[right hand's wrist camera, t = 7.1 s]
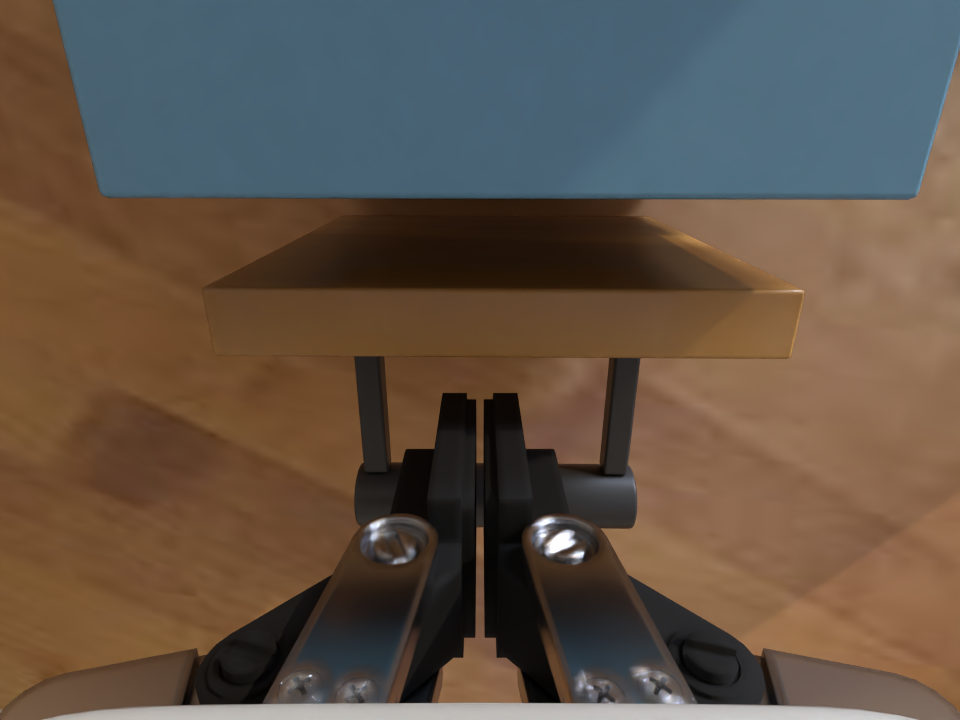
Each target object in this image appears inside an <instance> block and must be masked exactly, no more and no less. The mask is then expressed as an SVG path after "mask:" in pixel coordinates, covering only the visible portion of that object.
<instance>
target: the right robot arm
mask: <svg viewBox="0 0 960 720" xmlns="http://www.w3.org/2000/svg"><path fill="white" fill-rule="evenodd" d="M475 612H476V399H467V393H443V395H442V401H441V408H440V415H439V421H438V428H437V435H436V442H435V448H434V449H406V451H405V454H404V458H403V462H402V466H401V471H400V475H399V479H398V483H397V487H396V491H395V495H394V500H393V504H392V508H391V512H390V514H389V515H384V516H380V517H378V518H376V519H373V520H371V521H369V522H368V523H366V524H365V525H363V526H362V527H361V528H360V529H359V530H358V531H357V532H356V534H355V535H354V536H353V538H352V540H351V542H350V544H349V545H348V547H347V549H346V551H345V553H344V555H343V556H342V558H341V560H340V562H339V564H338V566H337V567H336V569H335V571H334V573H333V575H331V576H329V577H327V578H326V579H324V580H322V581H321V582H319V583H317V584H315V585H314V586H312V587H310V588H309V589H307V590H305V591H303V592H302V593H300V594H298V595H297V596H295V597H293V598H292V599H290V600H288V601H286V602H285V603H283V604H281V605H280V606H278V607H276V608H274V609H273V610H271V611H269V612H268V613H266V614H264V615H263V616H261V617H259V618H257V619H256V620H254V621H252V622H251V623H249V624H247V625H245V626H244V627H242V628H240V629H239V630H237V631H235V632H233V633H232V634H230V635H229V636H227V637H226V638H225V639H223V640H222V641H220V642H219V643H218V644H216V645H215V646H214V648H213V649H212V650H211V651H210V652H209V653H208V654H207V655H204V656H199V655H198V651H197V648H195V649H190V650H185V651H180V652H174V653H169V654H164V655H159V656H153V657H148V658H143V659H138V660H132V661H127V662H122V663H117V664H111V665H106V666H101V667H96V668H90V669H85V670H80V671H75V672H69V673H64V674H61V675H58V676H55V677H52V678H49V679H45V680H43V681H42V682H40V683H38V684H36V685H34V686H32V687H31V688H29V689H27V690H25V691H24V692H22V693H21V694H20V695H19V696H18V697H16V698H15V699H14V700H13V701H12V702H10V703H9V704H8V705H7V706H6V707H5V708H4V709H3V710H2V712H1V713H0V720H960V713H959V712H958V710H957V709H956V708H955V707H954V706H953V705H952V704H951V703H950V702H948V701H947V700H946V699H945V698H944V697H942V696H941V695H940V694H939V693H938V692H936V691H935V690H933V689H931V688H929V687H928V686H926V685H924V684H922V683H920V682H918V681H917V680H915V679H911V678H908V677H905V676H902V675H899V674H896V673H891V672H885V671H880V670H875V669H870V668H864V667H859V666H854V665H849V664H843V663H838V662H833V661H828V660H822V659H817V658H812V657H807V656H801V655H796V654H791V653H786V652H780V651H775V650H770V649H764V648H763V651H762V655H761V656H756V655H753V654H752V653H751V652H750V651H749V650H748V649H747V648H746V646H745V645H744V644H742V643H741V642H740V641H738V640H737V639H735V638H734V637H733V636H731V635H730V634H728V633H727V632H725V631H723V630H721V629H720V628H718V627H716V626H715V625H713V624H711V623H709V622H708V621H706V620H704V619H703V618H701V617H699V616H697V615H696V614H694V613H692V612H691V611H689V610H687V609H686V608H684V607H682V606H680V605H679V604H677V603H675V602H674V601H672V600H670V599H668V598H667V597H665V596H663V595H662V594H660V593H658V592H657V591H655V590H653V589H651V588H650V587H648V586H646V585H645V584H643V583H641V582H639V581H638V580H636V579H634V578H633V577H631V576H629V575H627V573H626V571H625V569H624V567H623V566H622V564H621V562H620V560H619V558H618V556H617V555H616V553H615V551H614V549H613V547H612V545H611V544H610V542H609V540H608V538H607V536H606V535H605V534H604V532H603V531H602V530H601V529H600V528H599V527H598V526H597V525H595V524H594V523H592V522H591V521H589V520H587V519H584V518H582V517H580V516H576V515H571V514H570V512H569V508H568V504H567V500H566V495H565V491H564V487H563V483H562V479H561V475H560V471H559V466H558V462H557V458H556V454H555V451H554V449H526V448H525V442H524V435H523V428H522V421H521V415H520V408H519V401H518V395H517V393H493V399H484V613H485V638H496V652H497V658H508V659H509V660H510V661H511V662H512V663H514V664H515V665H516V666H517V679H518V687H519V692H520V696H521V700H522V703H438V700H439V696H440V692H441V687H442V679H443V666H444V665H445V664H446V663H448V662H449V661H450V660H451V659H452V658H463V652H464V638H475Z"/></svg>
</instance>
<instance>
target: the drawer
mask: <svg viewBox="0 0 960 720" xmlns="http://www.w3.org/2000/svg"><path fill="white" fill-rule="evenodd" d="M202 293H203V298H204V303H205V309H206V314H207V319H208V324H209V329H210V335H211V340H212V345H213V350H214V353H215V355H224V356H354V359H355V370H356V381H357V392H358V403H359V414H360V425H361V437H362V448H363V459H364V463H362V464H361V466H360V468H359V471H358V474H357V478H356V484H355V496H354V507H355V516H356V520H357V523H358V525H360V526H363V525H365V524H366V523H368V522H369V521H371V520H373V519H376V518H378V517H380V516H384V515H389V514H390V512H391V508H392V504H393V500H394V495H395V491H396V487H397V483H398V479H399V475H400V471H401V466H402V463H394V462H391V451H390V436H389V422H388V407H387V392H386V378H385V363H384V356H393V357H562V358H609V368H608V379H607V389H606V400H605V410H604V421H603V431H602V442H601V453H600V464H558V466H559V471H560V475H561V479H562V483H563V487H564V491H565V495H566V500H567V504H568V508H569V512H570V514H571V515H576V516H580V517H582V518H584V519H587V520H589V521H591V522H592V523H594V524H595V525H597V526H598V527H599V528H618V529H629V528H632V527H633V526H634V523H635V520H636V514H637V491H636V484H635V479H634V475H633V472H632V470H631V468H630V466H628V459H629V450H630V442H631V433H632V425H633V416H634V408H635V399H636V390H637V382H638V373H639V365H640V358H731V359H788V358H790V356H791V353H792V349H793V345H794V340H795V336H796V331H797V327H798V322H799V318H800V314H801V309H802V305H803V300H804V296H805V293H804V290H802V289H800V288H798V287H795V286H793V285H791V284H789V283H787V282H785V281H783V280H781V279H779V278H776V277H774V276H772V275H770V274H768V273H766V272H764V271H762V270H760V269H758V268H755V267H753V266H751V265H749V264H747V263H745V262H743V261H741V260H739V259H736V258H734V257H732V256H730V255H728V254H726V253H724V252H722V251H720V250H717V249H715V248H713V247H711V246H709V245H707V244H705V243H703V242H701V241H699V240H696V239H694V238H692V237H690V236H688V235H686V234H684V233H682V232H680V231H677V230H675V229H673V228H671V227H669V226H667V225H665V224H663V223H661V222H659V221H656V220H654V219H652V218H650V217H648V216H342V217H340V218H338V219H336V220H334V221H332V222H330V223H328V224H326V225H324V226H322V227H320V228H318V229H316V230H315V231H313V232H311V233H309V234H307V235H305V236H303V237H301V238H299V239H297V240H295V241H293V242H291V243H289V244H287V245H285V246H283V247H282V248H280V249H278V250H276V251H274V252H272V253H270V254H268V255H266V256H264V257H262V258H260V259H258V260H256V261H254V262H252V263H251V264H249V265H247V266H245V267H243V268H241V269H239V270H237V271H235V272H233V273H231V274H229V275H227V276H225V277H223V278H221V279H220V280H218V281H216V282H214V283H212V284H210V285H208V286H206V287H204V288H203V291H202ZM476 527H484V463H476Z"/></svg>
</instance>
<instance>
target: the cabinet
mask: <svg viewBox="0 0 960 720" xmlns="http://www.w3.org/2000/svg"><path fill="white" fill-rule="evenodd" d="M53 4H54V8H55V13H56V17H57V21H58V25H59V29H60V33H61V37H62V41H63V45H64V49H65V53H66V57H67V61H68V66H69V70H70V74H71V78H72V82H73V86H74V90H75V94H76V98H77V102H78V106H79V110H80V115H81V119H82V123H83V127H84V131H85V135H86V139H87V143H88V147H89V151H90V155H91V159H92V163H93V168H94V172H95V176H96V180H97V184H98V188H99V191H100V193H101V195H103V196H106V197H108V198H381V199H845V200H908V199H911V198H914V197H916V196H917V194H918V193H919V189H920V186H921V182H922V179H923V175H924V172H925V168H926V165H927V161H928V158H929V154H930V151H931V147H932V143H933V140H934V136H935V133H936V129H937V126H938V122H939V119H940V115H941V112H942V108H943V105H944V101H945V98H946V94H947V91H948V87H949V84H950V80H951V77H952V73H953V70H954V66H955V63H956V59H957V55H958V52H959V48H960V0H53Z"/></svg>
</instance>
